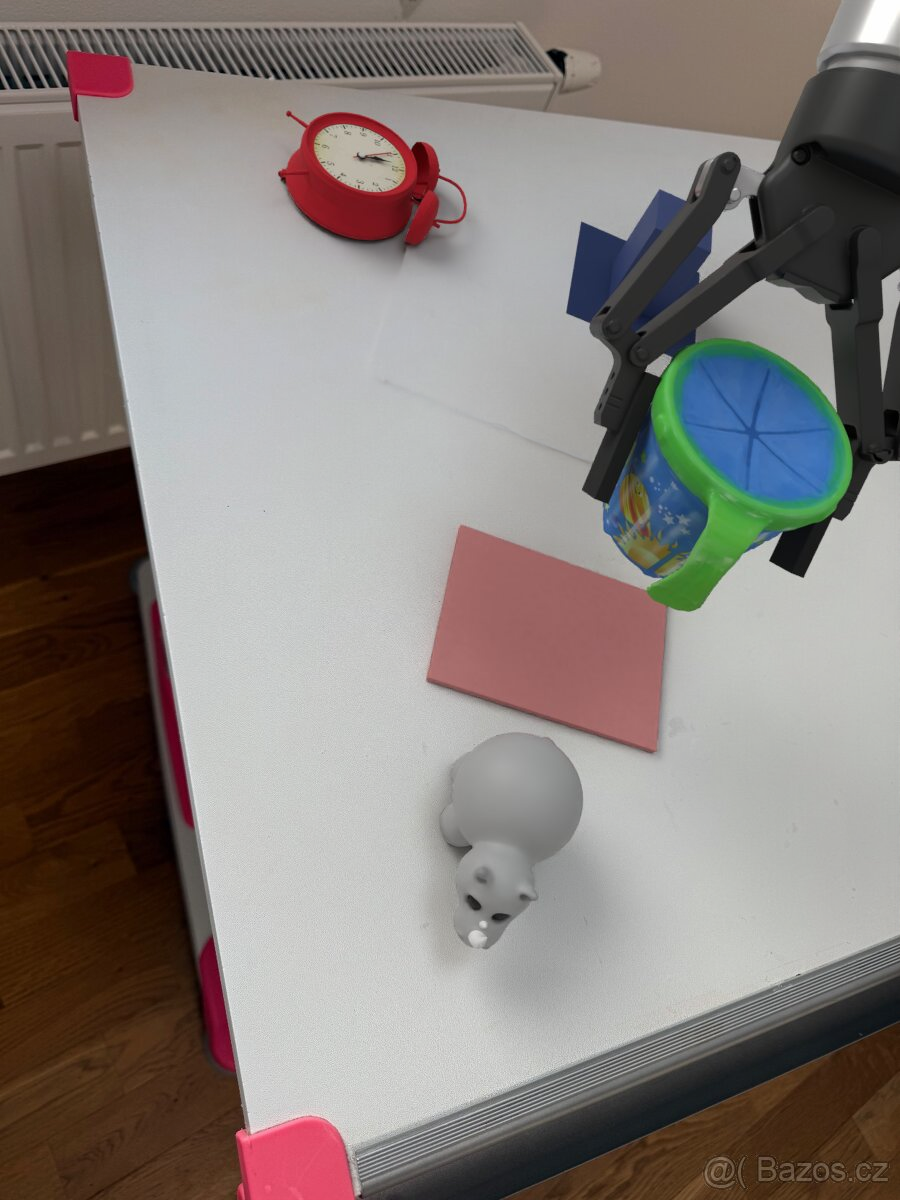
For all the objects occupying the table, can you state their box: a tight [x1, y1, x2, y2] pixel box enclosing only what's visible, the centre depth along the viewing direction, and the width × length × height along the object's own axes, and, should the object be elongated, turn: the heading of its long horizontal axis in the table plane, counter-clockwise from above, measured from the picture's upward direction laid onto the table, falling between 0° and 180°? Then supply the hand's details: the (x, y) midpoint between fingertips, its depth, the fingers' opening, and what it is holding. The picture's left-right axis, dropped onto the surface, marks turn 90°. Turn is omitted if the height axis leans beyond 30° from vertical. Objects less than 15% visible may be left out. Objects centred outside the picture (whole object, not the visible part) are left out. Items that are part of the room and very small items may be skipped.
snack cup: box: [602, 337, 853, 613], centre depth 51 cm, size 16×10×10 cm
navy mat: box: [565, 221, 700, 358], centre depth 84 cm, size 12×12×1 cm
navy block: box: [609, 188, 714, 319], centre depth 81 cm, size 5×5×8 cm
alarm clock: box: [277, 110, 468, 246], centre depth 77 cm, size 10×6×15 cm
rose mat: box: [426, 524, 668, 754], centre depth 65 cm, size 16×12×1 cm
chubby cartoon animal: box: [438, 731, 584, 950], centre depth 53 cm, size 7×12×8 cm, turn 161°
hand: (692, 534), depth 50 cm, fingers closed on snack cup, 10 cm apart
